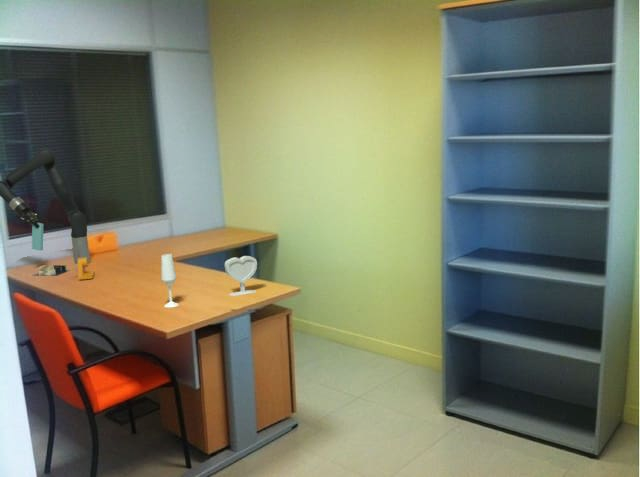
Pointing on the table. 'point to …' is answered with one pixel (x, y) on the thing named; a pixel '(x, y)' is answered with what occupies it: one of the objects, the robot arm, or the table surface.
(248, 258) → the heart sculpture
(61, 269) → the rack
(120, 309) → the table surface
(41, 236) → the teal rectangular slab
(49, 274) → the block
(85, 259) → the bracket
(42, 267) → the offcut top
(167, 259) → the champagne flute
